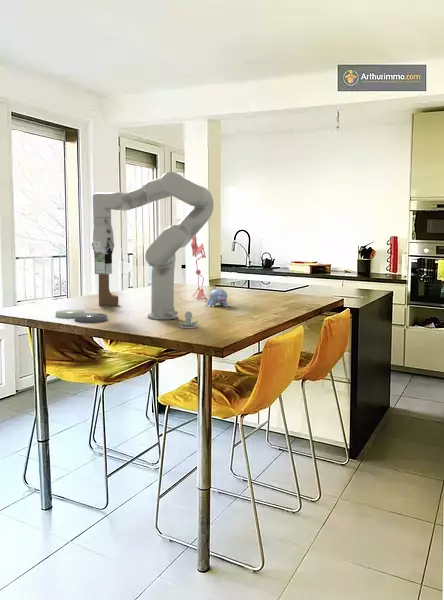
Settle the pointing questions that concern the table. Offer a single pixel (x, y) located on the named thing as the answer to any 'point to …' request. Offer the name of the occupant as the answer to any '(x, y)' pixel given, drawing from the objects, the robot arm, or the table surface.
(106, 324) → the table surface
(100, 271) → the syrup box
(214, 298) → the hippopotamus toy
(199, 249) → the pink articulated figure
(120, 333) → the table surface
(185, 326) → the pacifier
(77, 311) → the disc
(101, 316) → the disc
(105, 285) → the wooden block
